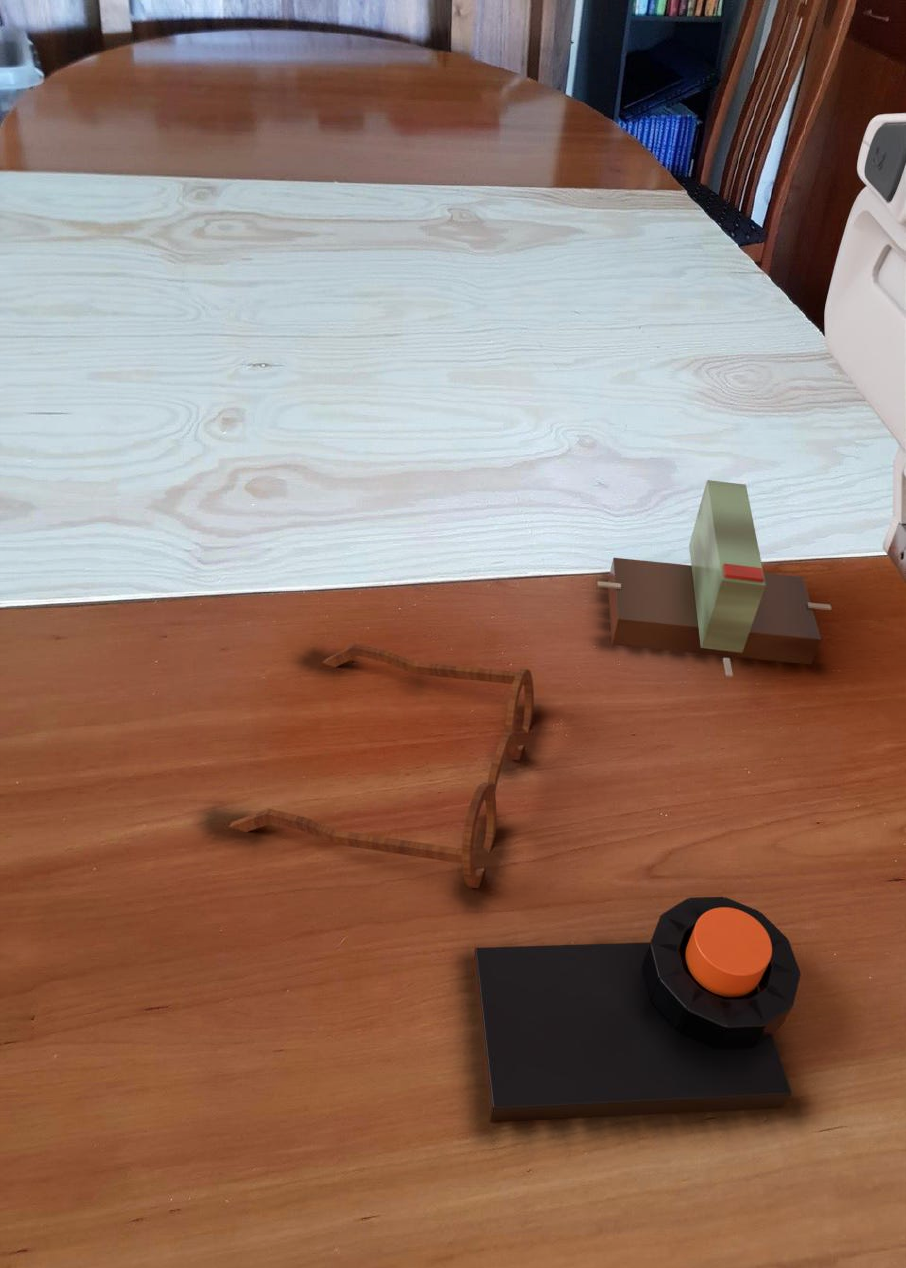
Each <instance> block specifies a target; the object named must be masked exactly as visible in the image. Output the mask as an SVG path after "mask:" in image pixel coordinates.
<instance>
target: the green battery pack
mask: <svg viewBox="0 0 906 1268" xmlns="http://www.w3.org/2000/svg"><path fill="white" fill-rule="evenodd" d="M751 508H752V507H751V504H750V498H749V493H748V488H747V484H745V483H735V482H728V481H721V480H719V481H718V480H711V479H707V480H706V482H705V485H704V489H703V493H702V497H701V501H700V503H699V508H698V512H697V514H696V519H695V523H694V526H693V528H692V529H693V530H692V533H691V537H690V540H689V543H688V547H689V549H688V550H689V557H690V565H691V566H692V575H693V584H694V592H695V601H696V610H697V618H698V627H699V636H700V645H701V648H707V649H715V650H723V651H731V652H739V653H742V652H743V650H744V647H745V644H746V641H747V638H748V635H749V632H750V629H751V627H752V624H753V621H754V618H755V615H756V612H757V609H758V606H759V603H760V601H761V598H762V595H763V592H764V589H765V586H766V584H765V578H764V573H765V572H764V567H763V564H762V559H761V554H760V548H759V544H758V538H757V533H756V529H755V523H754V519H753V514H752V509H751Z"/></svg>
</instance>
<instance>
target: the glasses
mask: <svg viewBox="0 0 906 1268" xmlns="http://www.w3.org/2000/svg"><path fill="white" fill-rule="evenodd" d="M357 657H362V658H366V659H371V660H374V661H378V662H382V663H386V664H389V665H391V666H393V667H396V668H398V669H401V670H403V671H406V672H407V673H411V674H414V675H419V676H429V677H438V678H448V679H458V680H466V681H467V680H469V681H478V682H488V683H489V682H490V683H497V684H507V685H508V684H509V685H511V688H510V692H509V697H508V702H507V708H506V715H505V723H504V724H505V725H504V727H505V729H504V730H505V731H504V733H503V734H502V735H501V737H500V739H499V742H498V745H497V748H496V750H495V753H494V756H493V760H492V762H491V765H490V768H489V773H488V778H487V782H482V783H480V784H479V785H478V786H477V787H476V788H475V789H476V790H475V791H474V793H473V796H472V798H471V801H470V805H469V807H468V810H467V814H466V819H465V824H464V828H463V837H462V847H461V848H459V847H452V846H447V845H440V844H439V845H438V844H432V843H425V842H420V841H419V842H418V841H412V840H405V839H398V838H392V837H384V836H378V835H372V834H365V833H357V832H351V831H346V830H345V831H344V830H338V829H335V828H332V827H329V826H327V825H325V824H322V823H320V822H317V821H315V820H312V819H310V818H307V817H304V816H301V815H297V814H292V813H288V812H285V811H280V810H276V809H272V808H266V810H261V811H259V812H256V813H253V814H251V815H248V816H245V817H242V818H239V819H237V820H233V821H232V822H231V823H230V824H229V825H228V828H229V829H233V830H237V831H240V832H245V833H248V832H250V831H254V830H256V829H259V828H262V827H263V828H264V827H265V826H268V825H271V824H276V825H279V826H282V827H283V826H284V827H287V828H291V829H295V830H298V831H301V832H305V833H308V834H310V835H312V836H315V837H317V838H319V839H322V840H325V841H327V842H330V843H332V844H334V845H338V846H343V847H352V848H357V849H363V850H370V851H376V852H377V851H378V852H384V853H390V854H395V855H396V854H397V855H403V856H409V857H416V858H424V859H430V860H437V861H443V862H450V863H455V864H461V865H462V866H461V867H462V875H463V879H464V883H465V885H466V886H467V887H468V888H471V889H473V888H474V889H480V888H479V887H480V884H481V881H482V879H483V875H484V872H485V869H486V867H482V868H478V869H475V865H474V841H475V834H476V828H477V824H478V823H477V822H478V818H479V815H480V813H481V810H482V806H483V804H484V803H485V810H486V826H485V827H486V829H485V838H484V843H483V848H484V849H485V850H486V852H487V853H488V854H490V853H491V850H492V847H493V844H494V841H495V837H496V834H497V798H496V792H497V791H496V789H497V786H498V781H499V778H500V774H501V772H502V768H503V766H504V763H505V761H506V760H505V759H506V756H507V754H508V757H509V759H510V760H512V761H520V759H521V757H522V753H523V751H524V747H525V744H521V745H518V744H517V735H516V718H517V709H518V703H519V699H520V695H521V691H522V688H523V690H524V714H523V720H522V721H523V722H522V730H523V731H524V732H526V733H527V734H528V733H529V730H530V727H531V725H532V722H533V718H534V702H535V700H534V699H535V696H534V694H535V693H534V691H535V690H534V681H533V675H532V672H531V670H530V669H529V668H519V670H517V671H511V670H510V671H509V670H500V669H490V668H481V667H470V666H460V665H451V664H450V665H449V664H439V663H429V662H418V661H414V660H411V659H409V658H406V657H404V656H401V655H398V654H397V653H393V652H391V651H388V650H385V649H380V648H375V647H371V646H367V645H360V644H357V643H354V644H352V645H351V646H348V647H347V648H344V649H343V650H341V651H339V652H337V653H335V654H333V655H331V656H328V657H327V658H325V659H324V660H323V661H322V662H321V664H324V665H327V666H330V667H333V668H337V667H339V666H341V665H343V664H344V663H346V662H347V663H348V662H349V661H351V660H352V659H353V660H354V659H355V658H357Z"/></svg>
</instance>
